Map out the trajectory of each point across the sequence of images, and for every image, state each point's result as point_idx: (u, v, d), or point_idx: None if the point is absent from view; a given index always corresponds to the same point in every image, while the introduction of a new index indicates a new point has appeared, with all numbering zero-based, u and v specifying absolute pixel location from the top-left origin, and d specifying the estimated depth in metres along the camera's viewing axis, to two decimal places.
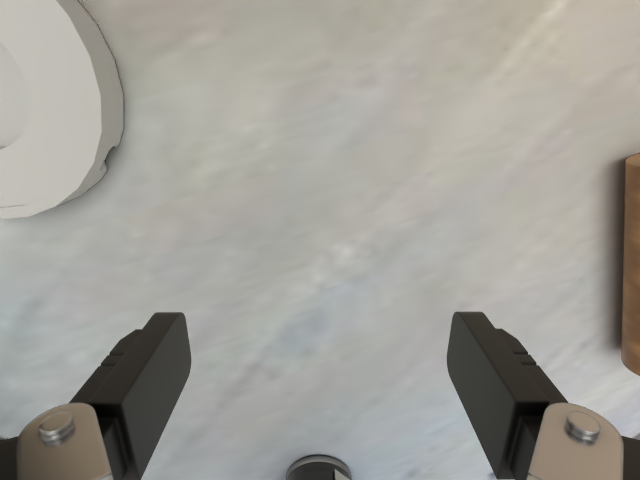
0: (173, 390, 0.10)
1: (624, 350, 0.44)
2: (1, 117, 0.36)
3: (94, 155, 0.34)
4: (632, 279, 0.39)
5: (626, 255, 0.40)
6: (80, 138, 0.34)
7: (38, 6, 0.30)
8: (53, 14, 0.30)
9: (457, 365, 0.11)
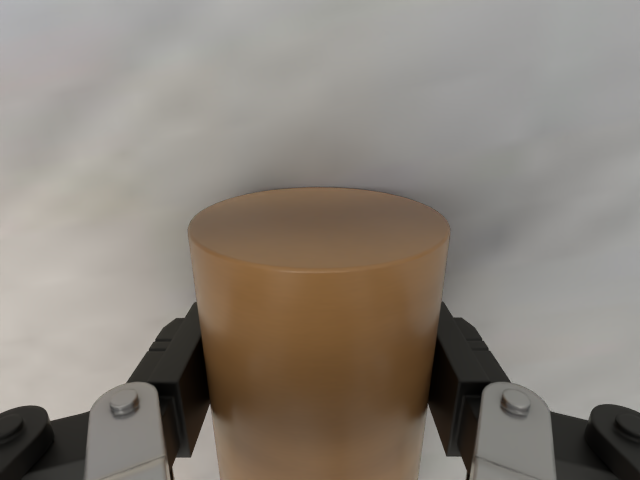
0: None
1: None
2: None
3: None
4: None
5: None
6: None
7: None
8: None
9: None
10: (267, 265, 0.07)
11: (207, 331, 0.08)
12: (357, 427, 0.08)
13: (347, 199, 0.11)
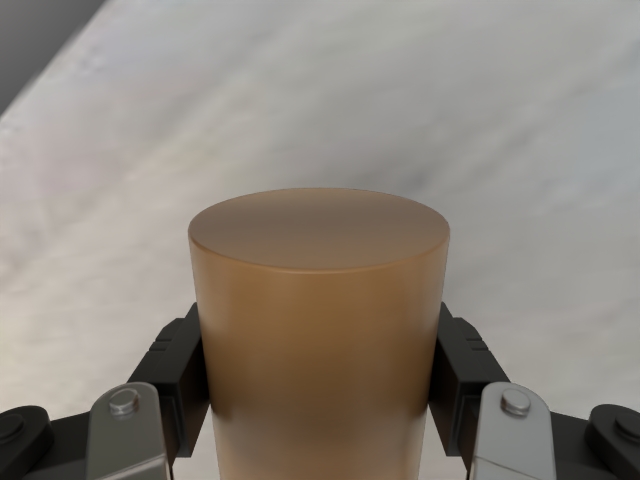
0: None
1: None
2: None
3: None
4: None
5: None
6: None
7: None
8: None
9: None
10: (267, 265, 0.07)
11: (207, 332, 0.08)
12: (357, 428, 0.08)
13: (347, 200, 0.11)
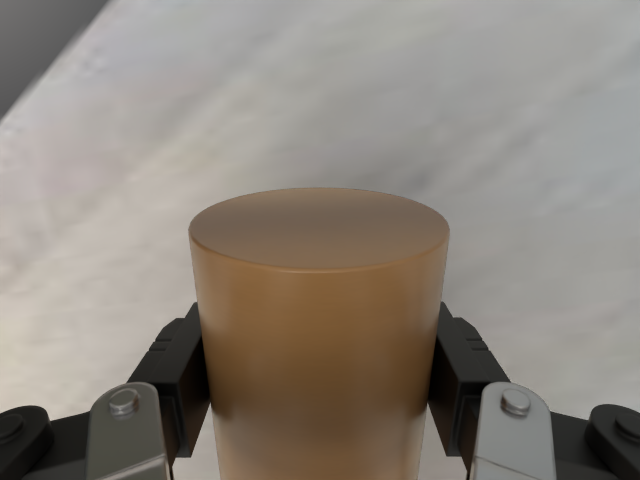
0: None
1: None
2: None
3: None
4: None
5: None
6: None
7: None
8: None
9: None
10: (268, 264, 0.07)
11: (208, 331, 0.08)
12: (357, 426, 0.08)
13: (347, 199, 0.11)
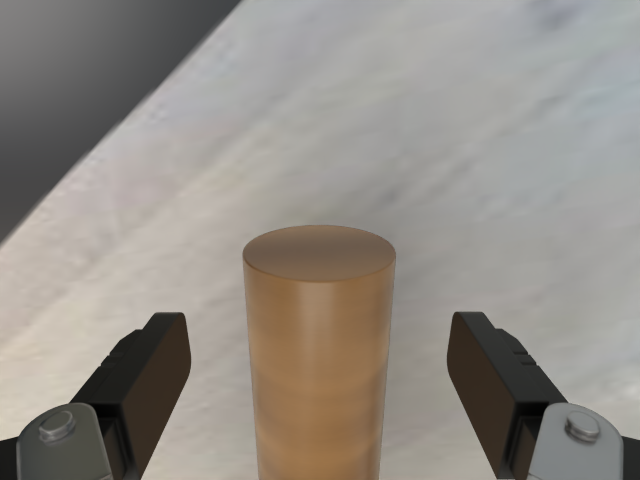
0: (173, 390, 0.10)
1: None
2: None
3: None
4: None
5: None
6: None
7: None
8: None
9: (457, 365, 0.11)
10: (293, 279, 0.13)
11: (255, 316, 0.14)
12: (341, 369, 0.14)
13: (337, 235, 0.17)
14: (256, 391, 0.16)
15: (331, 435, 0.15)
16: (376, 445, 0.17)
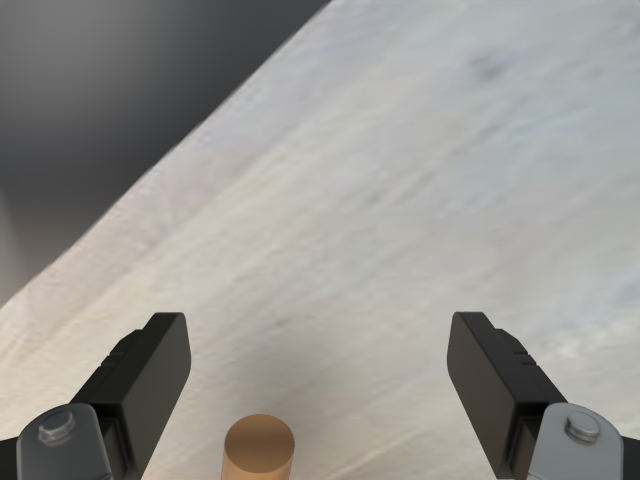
0: (173, 390, 0.10)
1: None
2: None
3: None
4: None
5: None
6: None
7: None
8: None
9: (457, 365, 0.11)
10: (243, 470, 0.30)
11: (226, 474, 0.32)
12: None
13: (271, 428, 0.34)
14: None
15: None
16: None
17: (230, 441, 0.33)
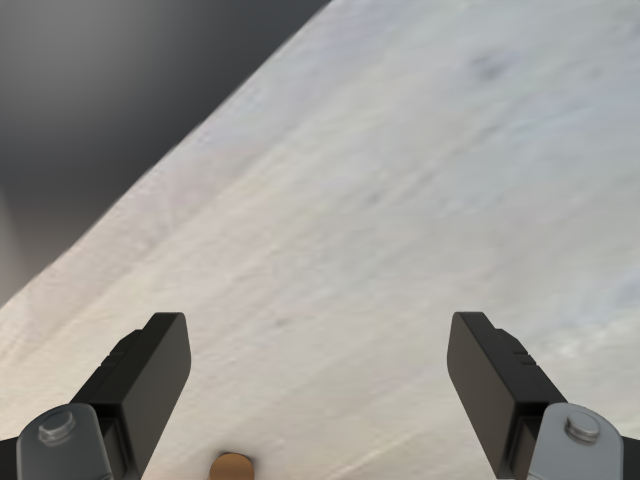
0: (173, 390, 0.10)
1: None
2: None
3: None
4: None
5: None
6: None
7: None
8: None
9: (457, 365, 0.11)
10: None
11: None
12: None
13: (240, 464, 0.53)
14: None
15: None
16: None
17: (213, 472, 0.51)
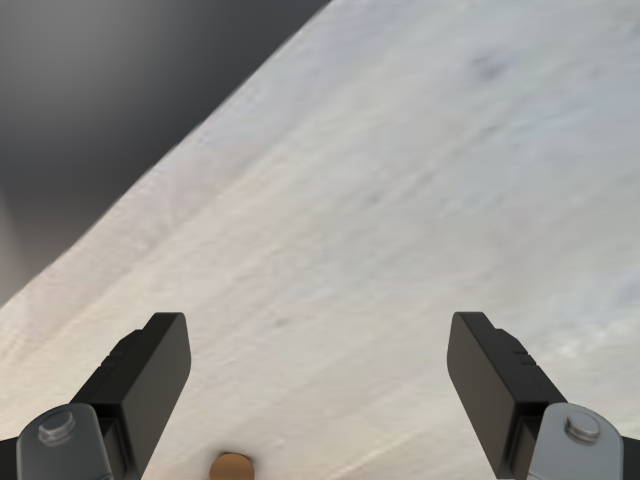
0: (173, 390, 0.10)
1: None
2: None
3: None
4: None
5: None
6: None
7: None
8: None
9: (457, 365, 0.11)
10: None
11: None
12: None
13: (240, 464, 0.53)
14: None
15: None
16: None
17: (213, 472, 0.51)
